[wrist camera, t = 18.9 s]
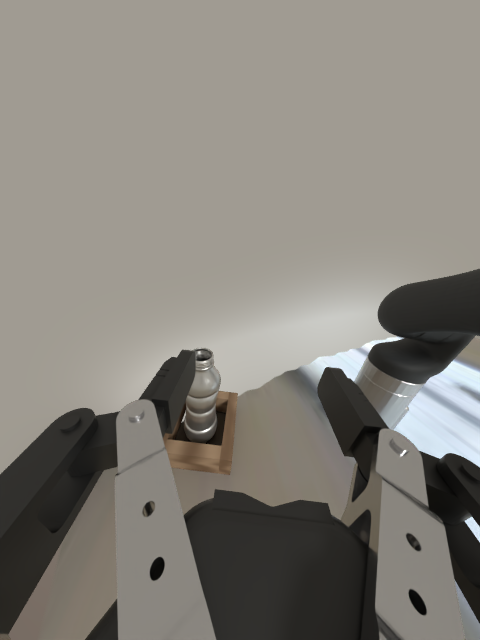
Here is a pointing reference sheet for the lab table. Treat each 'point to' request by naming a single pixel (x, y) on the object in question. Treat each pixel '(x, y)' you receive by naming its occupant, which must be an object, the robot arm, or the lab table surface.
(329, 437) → the lab table surface
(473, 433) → the lab table surface
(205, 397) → the plastic bottle
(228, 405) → the wooden square frame
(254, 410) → the lab table surface
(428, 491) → the robot arm
